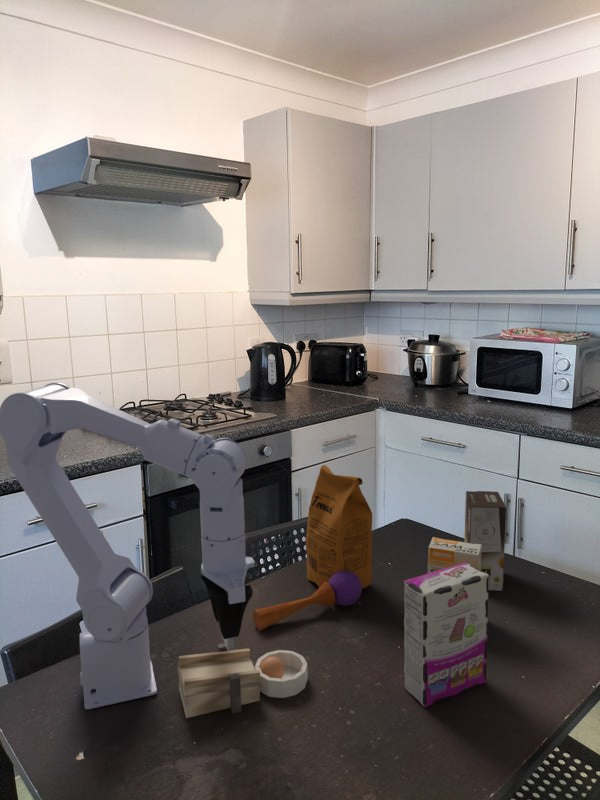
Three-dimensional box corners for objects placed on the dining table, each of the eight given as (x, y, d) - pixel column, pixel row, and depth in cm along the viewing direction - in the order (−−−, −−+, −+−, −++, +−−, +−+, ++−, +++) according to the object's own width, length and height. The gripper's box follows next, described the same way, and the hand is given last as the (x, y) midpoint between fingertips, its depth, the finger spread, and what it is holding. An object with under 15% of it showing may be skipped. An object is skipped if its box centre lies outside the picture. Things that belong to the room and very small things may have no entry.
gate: (225, 651, 82) (223, 617, 81) (218, 636, 86) (217, 603, 85) (236, 649, 82) (235, 615, 81) (230, 633, 86) (228, 601, 85)
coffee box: (504, 591, 112) (507, 507, 109) (467, 589, 113) (470, 506, 110) (495, 569, 121) (498, 490, 118) (462, 567, 122) (464, 490, 119)
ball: (276, 692, 86) (259, 680, 85) (269, 678, 89) (252, 666, 88) (292, 673, 86) (275, 660, 85) (284, 659, 89) (268, 647, 88)
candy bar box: (462, 664, 91) (466, 560, 88) (487, 683, 86) (491, 574, 84) (400, 688, 86) (402, 578, 83) (423, 709, 81) (426, 594, 78)
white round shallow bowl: (264, 702, 83) (263, 685, 83) (250, 671, 90) (249, 656, 90) (314, 690, 86) (313, 674, 85) (297, 661, 92) (296, 646, 92)
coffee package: (340, 564, 124) (339, 458, 120) (379, 588, 114) (379, 474, 110) (298, 577, 119) (296, 467, 115) (335, 603, 109) (333, 483, 105)
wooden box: (187, 724, 79) (185, 688, 78) (177, 685, 87) (175, 651, 86) (263, 706, 83) (262, 670, 82) (247, 669, 91) (246, 636, 90)
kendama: (247, 598, 103) (347, 563, 112) (253, 632, 104) (353, 594, 113) (260, 607, 98) (365, 569, 107) (267, 643, 98) (371, 603, 107)
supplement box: (425, 620, 103) (426, 547, 101) (430, 606, 107) (431, 535, 105) (476, 630, 100) (478, 554, 98) (479, 615, 104) (482, 542, 102)
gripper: (267, 549, 76) (270, 650, 78) (239, 510, 89) (242, 597, 92) (210, 558, 73) (215, 662, 76) (190, 517, 87) (195, 606, 89)
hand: (226, 627), depth 84 cm, fingers closed on gate, 4 cm apart
